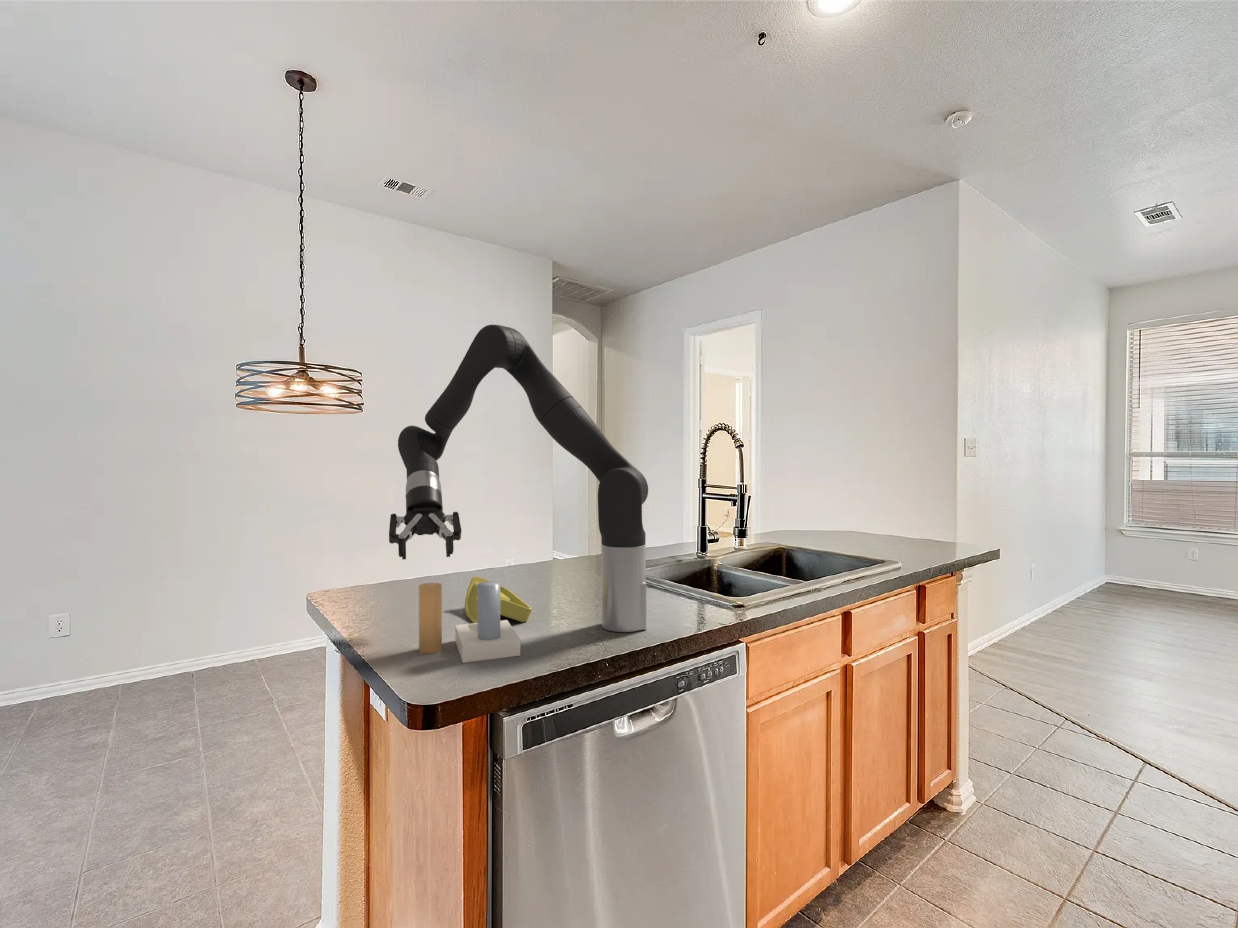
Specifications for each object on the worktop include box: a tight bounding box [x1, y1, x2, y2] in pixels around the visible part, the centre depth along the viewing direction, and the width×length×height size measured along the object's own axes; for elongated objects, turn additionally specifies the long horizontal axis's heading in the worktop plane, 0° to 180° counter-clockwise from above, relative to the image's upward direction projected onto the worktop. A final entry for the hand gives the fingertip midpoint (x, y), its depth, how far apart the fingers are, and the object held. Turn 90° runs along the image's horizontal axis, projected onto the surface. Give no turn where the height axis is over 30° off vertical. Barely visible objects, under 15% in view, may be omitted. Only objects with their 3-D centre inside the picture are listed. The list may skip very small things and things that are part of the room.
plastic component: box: [464, 575, 533, 623], centre depth 130 cm, size 20×7×10 cm
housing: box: [454, 581, 521, 664], centre depth 108 cm, size 13×10×13 cm
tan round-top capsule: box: [418, 582, 443, 655], centre depth 107 cm, size 4×4×12 cm
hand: (426, 555), depth 117 cm, fingers open, 8 cm apart
